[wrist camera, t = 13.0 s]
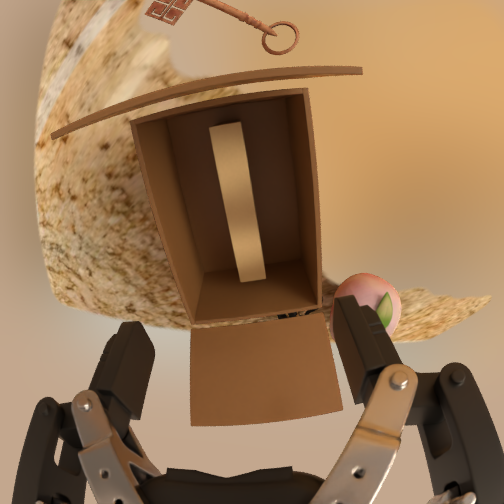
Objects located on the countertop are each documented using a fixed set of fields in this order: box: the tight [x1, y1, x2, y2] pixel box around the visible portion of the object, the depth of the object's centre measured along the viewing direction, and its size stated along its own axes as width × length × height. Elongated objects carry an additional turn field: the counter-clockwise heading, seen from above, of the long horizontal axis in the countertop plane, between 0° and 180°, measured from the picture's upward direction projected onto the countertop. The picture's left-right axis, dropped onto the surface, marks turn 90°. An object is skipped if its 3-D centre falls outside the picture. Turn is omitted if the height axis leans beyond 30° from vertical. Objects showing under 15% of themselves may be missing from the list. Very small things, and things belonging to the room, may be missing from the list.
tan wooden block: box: [209, 120, 266, 282], centre depth 24 cm, size 14×2×5 cm, turn 9°
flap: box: [190, 312, 343, 426], centre depth 20 cm, size 9×12×1 cm
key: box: [145, 0, 299, 55], centre depth 17 cm, size 6×1×15 cm
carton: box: [51, 66, 363, 325], centre depth 19 cm, size 19×12×17 cm, turn 9°
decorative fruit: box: [330, 273, 401, 340], centre depth 29 cm, size 9×8×10 cm
